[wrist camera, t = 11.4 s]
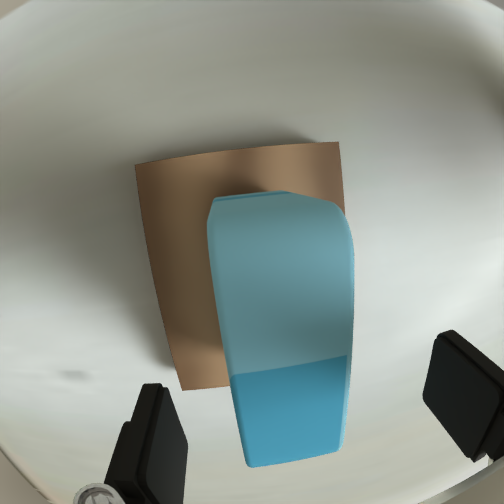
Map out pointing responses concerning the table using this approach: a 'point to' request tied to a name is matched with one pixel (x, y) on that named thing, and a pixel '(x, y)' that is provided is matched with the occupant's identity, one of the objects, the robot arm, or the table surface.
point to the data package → (284, 320)
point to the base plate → (196, 242)
